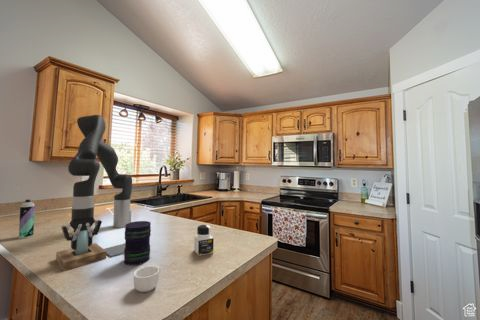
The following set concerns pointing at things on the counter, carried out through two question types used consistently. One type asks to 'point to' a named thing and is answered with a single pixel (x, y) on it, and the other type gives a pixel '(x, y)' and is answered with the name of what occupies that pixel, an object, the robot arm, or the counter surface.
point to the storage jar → (137, 242)
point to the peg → (82, 242)
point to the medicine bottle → (203, 240)
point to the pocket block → (80, 257)
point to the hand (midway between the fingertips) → (81, 247)
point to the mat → (115, 250)
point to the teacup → (146, 278)
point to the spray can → (26, 219)
